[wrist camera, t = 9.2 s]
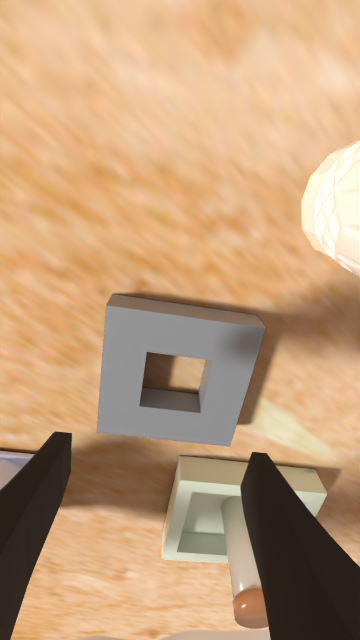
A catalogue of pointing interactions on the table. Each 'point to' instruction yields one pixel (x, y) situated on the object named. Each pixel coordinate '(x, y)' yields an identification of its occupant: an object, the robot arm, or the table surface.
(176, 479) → the parts tray
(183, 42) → the table surface
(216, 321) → the grey square frame
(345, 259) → the white cup
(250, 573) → the cylinder
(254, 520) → the robot arm
